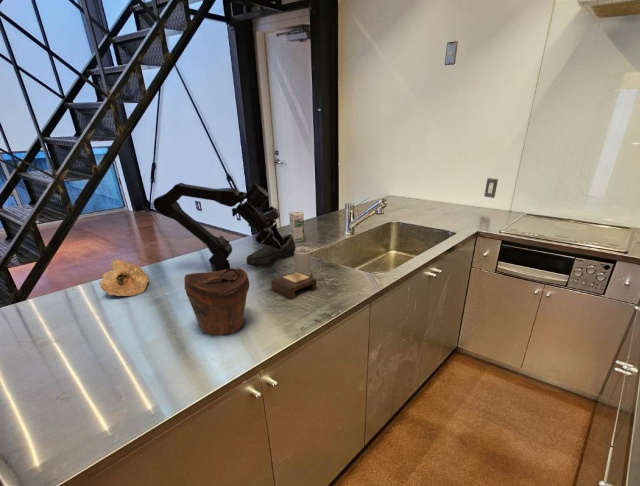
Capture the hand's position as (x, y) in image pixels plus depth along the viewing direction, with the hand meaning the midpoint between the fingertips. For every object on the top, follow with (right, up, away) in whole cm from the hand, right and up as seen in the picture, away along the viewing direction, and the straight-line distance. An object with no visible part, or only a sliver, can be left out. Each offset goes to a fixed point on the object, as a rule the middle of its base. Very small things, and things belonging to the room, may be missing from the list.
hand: (282, 245), depth 148 cm
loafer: (-8, -3, +23) cm, 24 cm away
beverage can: (+7, -12, +7) cm, 16 cm away
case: (-14, -31, -30) cm, 45 cm away
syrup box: (0, +13, +52) cm, 53 cm away
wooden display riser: (+5, -18, -5) cm, 19 cm away
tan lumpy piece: (-56, -18, -8) cm, 60 cm away
